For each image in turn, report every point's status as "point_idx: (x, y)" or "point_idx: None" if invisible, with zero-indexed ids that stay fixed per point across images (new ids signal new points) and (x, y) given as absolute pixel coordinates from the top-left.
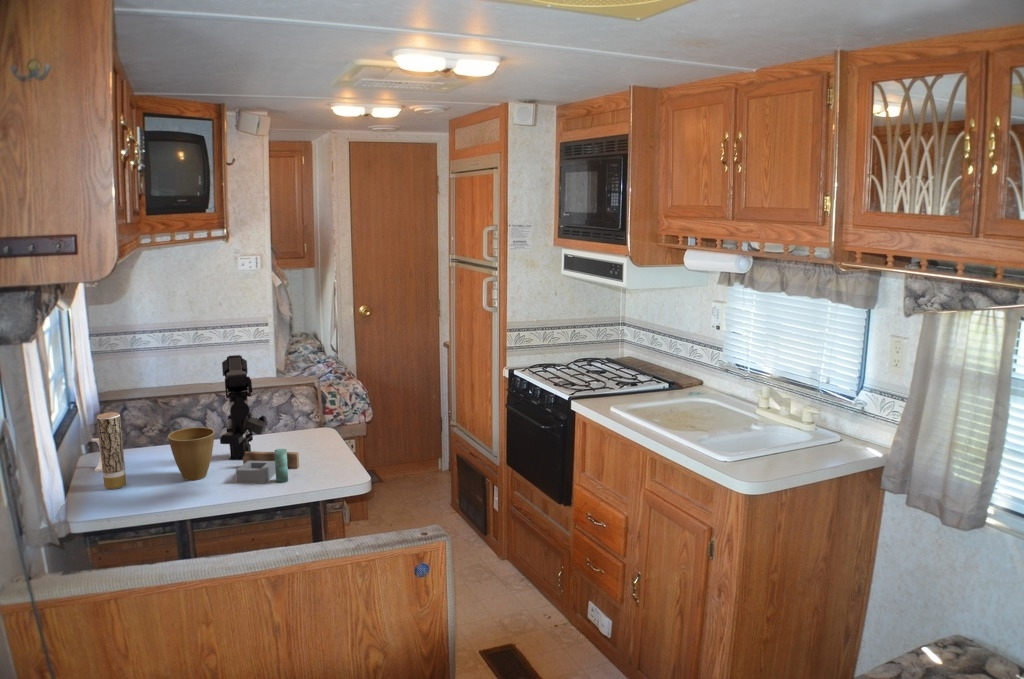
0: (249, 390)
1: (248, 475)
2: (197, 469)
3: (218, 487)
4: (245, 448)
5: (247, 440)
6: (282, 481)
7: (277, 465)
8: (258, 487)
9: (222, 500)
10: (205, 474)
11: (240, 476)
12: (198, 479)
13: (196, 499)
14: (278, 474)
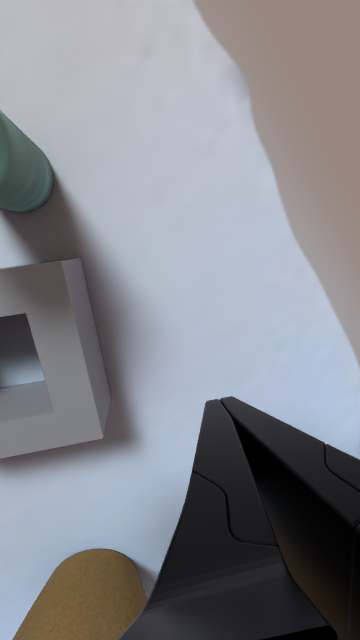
0: None
1: (92, 358)
2: (134, 603)
3: (181, 436)
4: (227, 445)
5: (213, 573)
6: (43, 153)
7: (4, 146)
8: (144, 262)
9: (316, 335)
10: (87, 559)
11: (103, 396)
12: (120, 553)
13: (312, 434)
14: (35, 164)
